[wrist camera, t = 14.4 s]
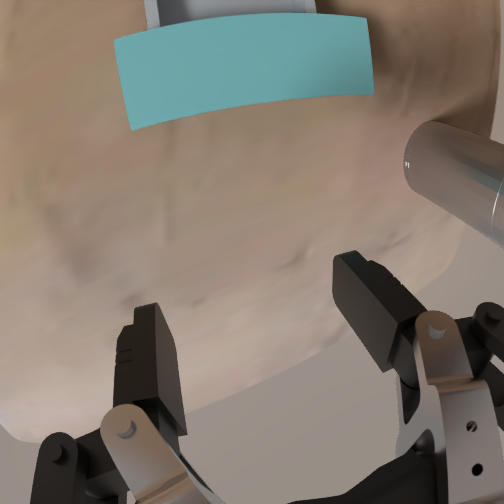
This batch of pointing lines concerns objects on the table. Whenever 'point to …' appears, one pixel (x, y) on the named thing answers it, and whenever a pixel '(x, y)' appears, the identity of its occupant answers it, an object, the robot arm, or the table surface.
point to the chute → (238, 57)
